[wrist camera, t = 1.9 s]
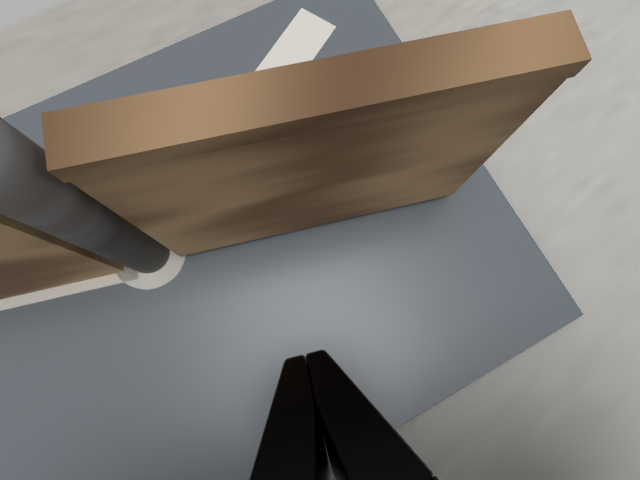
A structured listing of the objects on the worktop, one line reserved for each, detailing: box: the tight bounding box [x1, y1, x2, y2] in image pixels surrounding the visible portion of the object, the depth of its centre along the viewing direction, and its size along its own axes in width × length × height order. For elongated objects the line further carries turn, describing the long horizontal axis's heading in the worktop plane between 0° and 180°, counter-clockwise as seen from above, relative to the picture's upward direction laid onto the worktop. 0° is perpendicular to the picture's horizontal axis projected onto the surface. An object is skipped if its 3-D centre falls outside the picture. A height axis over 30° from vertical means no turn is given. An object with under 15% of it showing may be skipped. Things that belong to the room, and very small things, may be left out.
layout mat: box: [0, 0, 583, 480], centre depth 17 cm, size 18×23×1 cm
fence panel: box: [41, 10, 592, 256], centre depth 13 cm, size 11×1×9 cm, turn 104°
